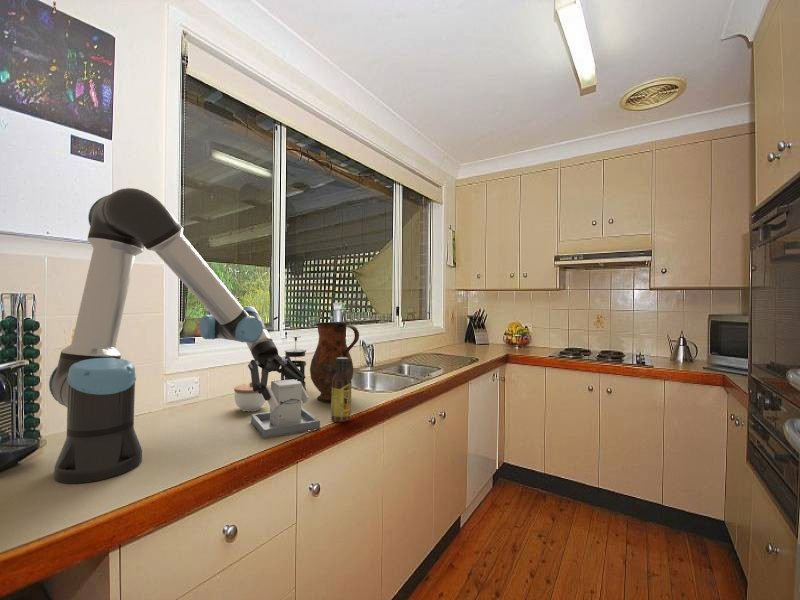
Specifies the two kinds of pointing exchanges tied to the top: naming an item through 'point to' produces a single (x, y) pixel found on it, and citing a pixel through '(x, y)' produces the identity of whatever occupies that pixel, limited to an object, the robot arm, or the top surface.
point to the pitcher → (330, 356)
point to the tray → (269, 430)
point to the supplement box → (286, 402)
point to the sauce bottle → (341, 392)
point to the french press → (295, 354)
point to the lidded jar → (248, 398)
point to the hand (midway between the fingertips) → (291, 404)
